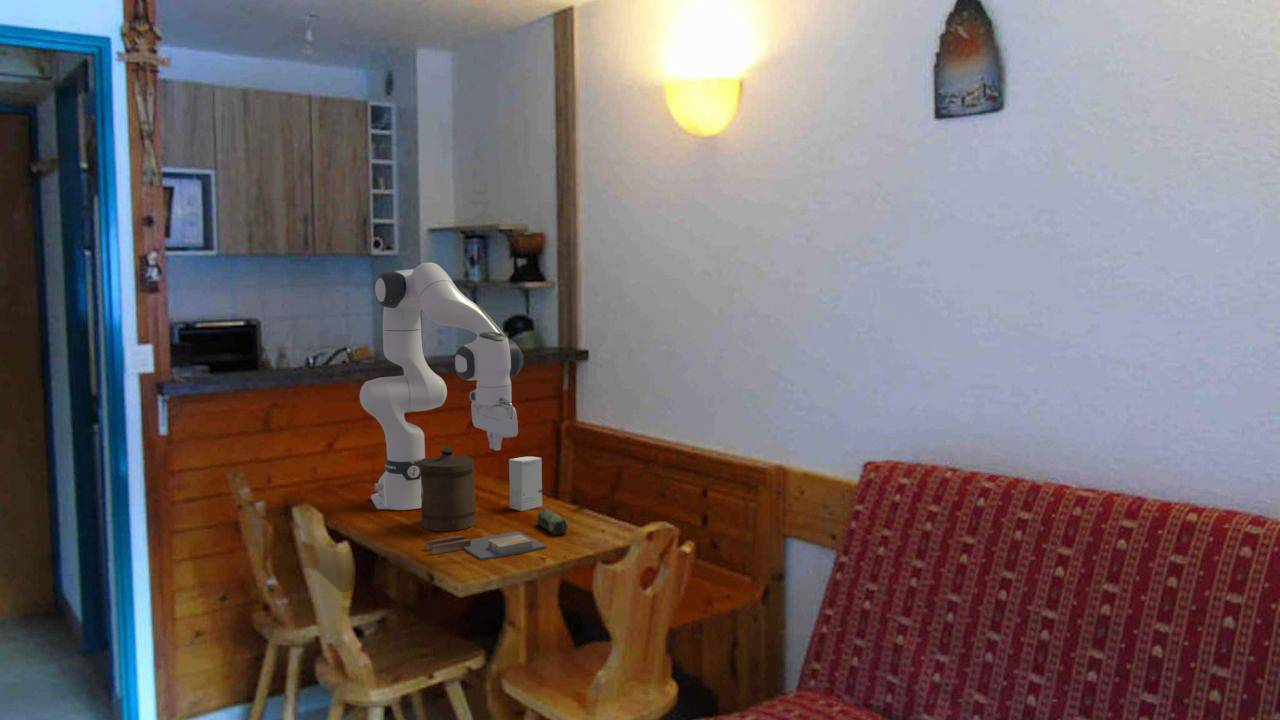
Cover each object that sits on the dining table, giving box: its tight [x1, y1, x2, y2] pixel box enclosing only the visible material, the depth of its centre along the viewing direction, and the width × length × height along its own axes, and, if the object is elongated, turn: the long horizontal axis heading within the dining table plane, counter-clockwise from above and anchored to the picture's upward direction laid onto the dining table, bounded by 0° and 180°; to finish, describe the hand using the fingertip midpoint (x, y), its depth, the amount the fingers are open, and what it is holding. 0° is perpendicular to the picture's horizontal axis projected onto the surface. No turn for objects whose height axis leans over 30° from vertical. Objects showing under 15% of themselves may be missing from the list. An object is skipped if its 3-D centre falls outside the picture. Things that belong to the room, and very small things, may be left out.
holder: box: [424, 534, 471, 555], centre depth 256 cm, size 6×10×2 cm, turn 123°
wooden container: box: [420, 445, 477, 532], centre depth 278 cm, size 15×15×22 cm
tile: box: [488, 534, 532, 555], centre depth 254 cm, size 2×9×7 cm
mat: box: [462, 530, 547, 561], centre depth 258 cm, size 16×18×1 cm
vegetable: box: [536, 508, 569, 536], centre depth 273 cm, size 14×5×5 cm, turn 28°
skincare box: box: [508, 455, 543, 512], centre depth 296 cm, size 8×6×15 cm
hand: (495, 449), depth 257 cm, fingers closed
